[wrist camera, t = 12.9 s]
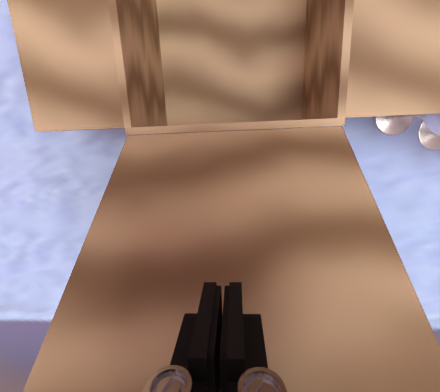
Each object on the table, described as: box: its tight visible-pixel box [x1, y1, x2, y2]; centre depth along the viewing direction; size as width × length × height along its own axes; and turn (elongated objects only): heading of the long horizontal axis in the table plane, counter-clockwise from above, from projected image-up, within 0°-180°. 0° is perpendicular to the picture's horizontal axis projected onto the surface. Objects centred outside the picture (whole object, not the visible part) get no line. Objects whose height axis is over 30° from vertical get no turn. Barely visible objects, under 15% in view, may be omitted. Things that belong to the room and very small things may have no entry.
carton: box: [7, 0, 440, 135], centre depth 24 cm, size 22×34×12 cm, turn 92°
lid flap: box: [23, 126, 440, 392], centre depth 14 cm, size 22×18×1 cm
